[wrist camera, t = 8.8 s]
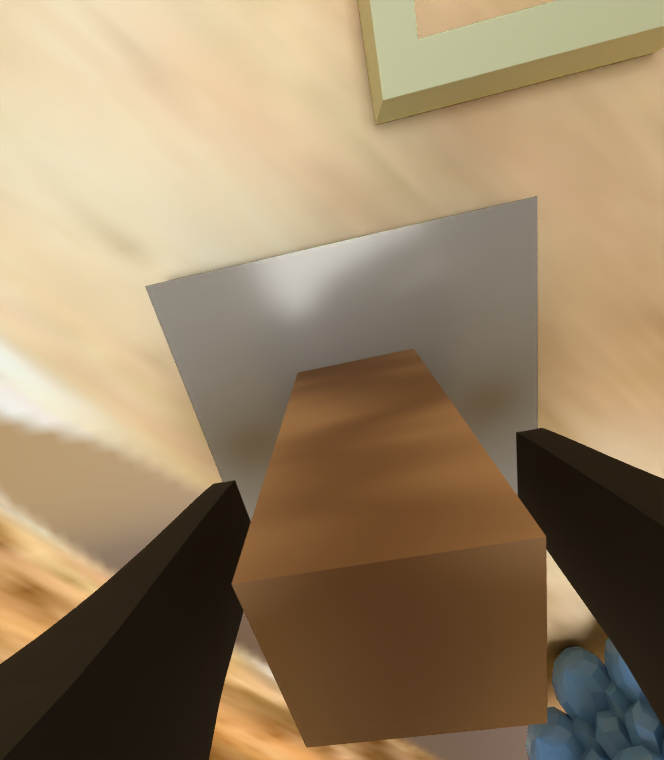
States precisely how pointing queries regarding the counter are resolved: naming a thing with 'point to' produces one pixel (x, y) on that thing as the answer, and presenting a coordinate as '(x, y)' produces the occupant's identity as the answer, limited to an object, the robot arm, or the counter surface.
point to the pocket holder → (497, 50)
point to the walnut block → (393, 564)
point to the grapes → (596, 712)
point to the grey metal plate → (363, 329)
